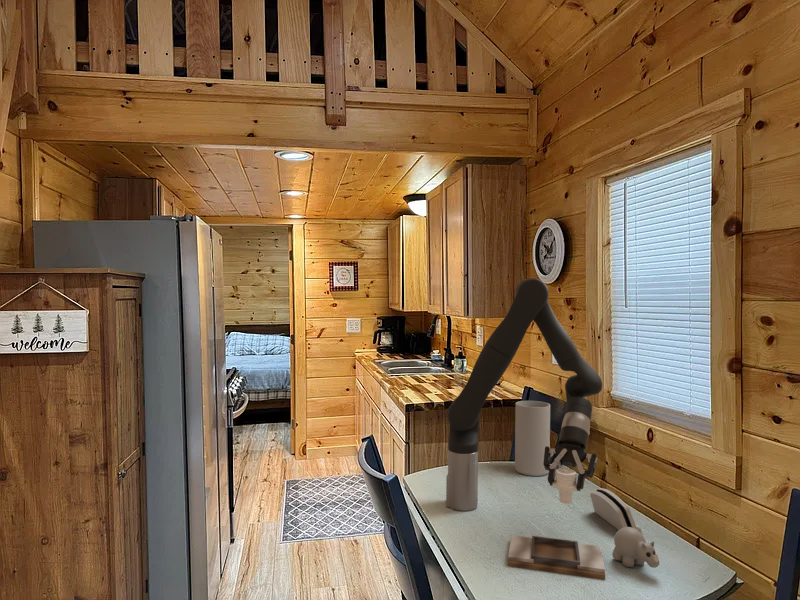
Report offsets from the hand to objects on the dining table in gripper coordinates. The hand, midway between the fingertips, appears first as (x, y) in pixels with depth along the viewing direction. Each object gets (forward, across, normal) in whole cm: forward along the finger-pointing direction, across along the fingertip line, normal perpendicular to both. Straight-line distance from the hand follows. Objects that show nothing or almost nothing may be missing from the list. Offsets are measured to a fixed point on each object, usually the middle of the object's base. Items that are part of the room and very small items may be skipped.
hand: (564, 486), depth 141 cm
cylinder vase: (-27, -24, +49) cm, 61 cm away
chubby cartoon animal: (+13, +18, +8) cm, 24 cm away
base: (+17, 0, +4) cm, 18 cm away
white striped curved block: (-4, +9, +26) cm, 27 cm away
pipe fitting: (+2, 0, +4) cm, 5 cm away
